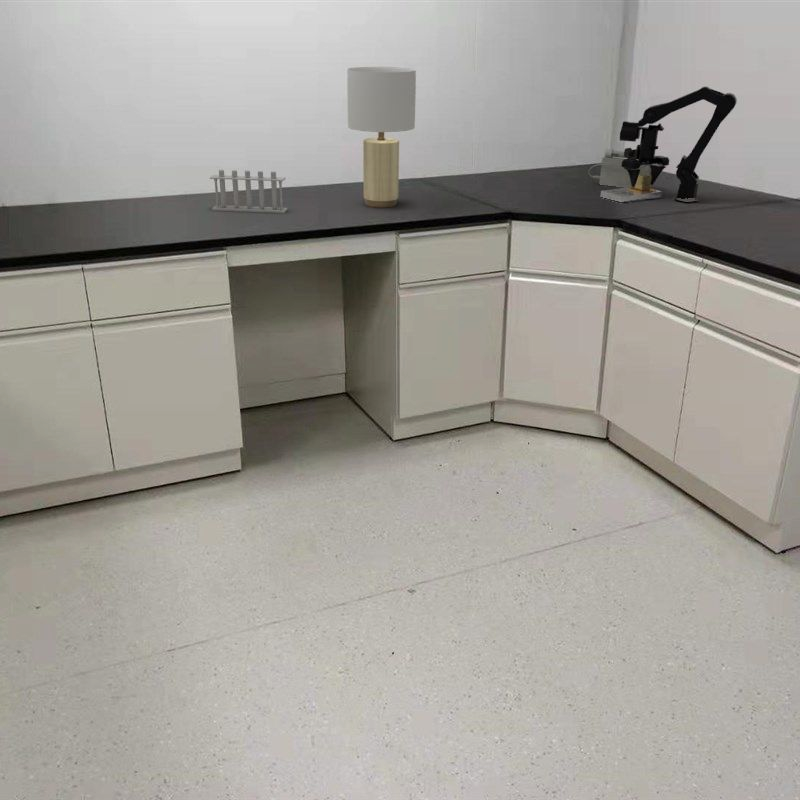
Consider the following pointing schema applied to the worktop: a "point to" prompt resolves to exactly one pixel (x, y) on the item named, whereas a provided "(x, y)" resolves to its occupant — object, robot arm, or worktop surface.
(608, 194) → the rail plate
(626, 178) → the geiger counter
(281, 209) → the test tube rack
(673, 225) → the worktop surface
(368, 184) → the lamp
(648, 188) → the brass peg
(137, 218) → the worktop surface
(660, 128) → the robot arm
